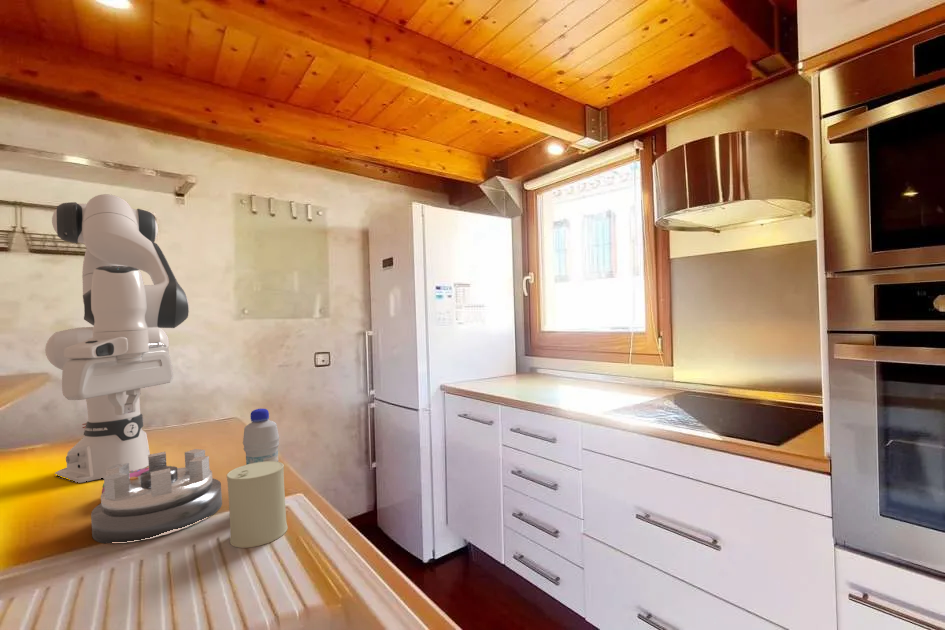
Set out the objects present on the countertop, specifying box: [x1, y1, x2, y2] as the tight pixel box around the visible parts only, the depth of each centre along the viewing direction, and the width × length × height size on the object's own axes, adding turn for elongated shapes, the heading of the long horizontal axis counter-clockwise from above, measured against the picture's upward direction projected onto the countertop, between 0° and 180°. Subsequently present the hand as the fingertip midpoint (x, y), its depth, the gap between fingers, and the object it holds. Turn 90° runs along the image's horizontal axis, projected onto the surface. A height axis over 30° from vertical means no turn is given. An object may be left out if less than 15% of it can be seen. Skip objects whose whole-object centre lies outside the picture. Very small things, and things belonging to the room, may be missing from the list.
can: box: [226, 461, 288, 549], centre depth 79 cm, size 9×9×12 cm
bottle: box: [242, 408, 280, 465], centre depth 91 cm, size 7×7×20 cm
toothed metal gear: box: [100, 448, 213, 516], centre depth 89 cm, size 18×18×6 cm
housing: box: [90, 477, 223, 544], centre depth 89 cm, size 21×21×4 cm
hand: (125, 413), depth 91 cm, fingers closed
